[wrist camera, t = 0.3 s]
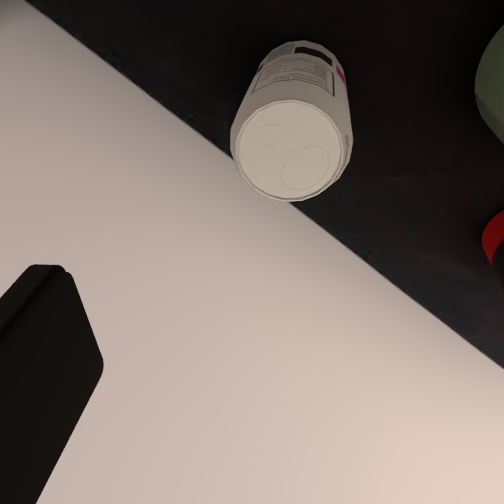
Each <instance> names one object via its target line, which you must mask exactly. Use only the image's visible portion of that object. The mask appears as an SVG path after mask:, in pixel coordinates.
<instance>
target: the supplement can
mask: <svg viewBox="0 0 504 504" xmlns="http://www.w3.org/2000/svg"><path fill="white" fill-rule="evenodd" d="M352 144H353V136H352V128H351V120H350V112H349V104H348V96H347V88H346V82H345V77H344V72H343V68H342V67H341V65H340V64H339V62H338V60H337V59H336V57H335V55H334V54H332V53H331V52H330V51H328V50H327V49H326V48H324V47H323V46H322V45H320V44H316V43H312V42H309V41H305V40H303V41H294V42H287V43H285V44H283V45H281V46H279V47H277V48H275V49H273V50H272V51H271V52H270V53H269V54H268V55H267V57H266V58H265V59H264V60H263V61H262V62H261V64H260V66H259V68H258V70H257V72H256V74H255V76H254V78H253V81H252V83H251V85H250V87H249V89H248V91H247V93H246V95H245V97H244V99H243V102H242V104H241V106H240V108H239V110H238V112H237V115H236V117H235V120H234V122H233V125H232V127H231V140H230V150H231V153H232V156H233V158H234V161H235V164H236V166H237V169H238V170H239V171H240V172H241V174H242V176H244V178H245V179H246V180H247V182H248V183H249V184H250V185H251V187H252V188H254V189H255V190H257V191H258V192H260V193H261V194H263V195H264V196H266V197H269V198H272V199H276V200H280V201H284V202H286V201H302V200H305V199H308V198H310V197H313V196H316V195H318V194H319V193H321V192H322V191H324V190H325V189H326V188H327V187H329V186H330V185H331V184H332V183H334V182H335V181H336V180H337V179H338V178H339V177H340V175H341V174H342V172H343V170H344V169H345V167H346V166H347V164H348V162H349V160H350V154H351V149H352Z"/></svg>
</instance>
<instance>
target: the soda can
mask: <svg viewBox="0 0 504 504" xmlns="http://www.w3.org/2000/svg"><path fill="white" fill-rule="evenodd" d="M482 245H483V249H484V251H485V253H486V255H487V257H488V259H489V261H490V263H491V265H492V268H493V270H494V272H495V274H496V276H497V278H498V280H499V282H500V284H501V286H502V288H503V290H504V210H503V211H501V212H500V213H498V214H497V215H496V216H494V217H493V218H492V219H491V220H490V222H489V223H488V224H487V226H486V227H485V230H484V232H483V235H482Z"/></svg>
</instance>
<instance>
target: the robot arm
mask: <svg viewBox="0 0 504 504" xmlns="http://www.w3.org/2000/svg"><path fill="white" fill-rule="evenodd" d="M103 366H104V365H103V358H102V356H101V352H100V350H99V347H98V345H97V342H96V339H95V336H94V333H93V331H92V328H91V326H90V323H89V320H88V317H87V314H86V312H85V309H84V306H83V304H82V301H81V298H80V295H79V293H78V290H77V287H76V285H75V282H74V279H73V277H72V275H71V274H70V273H69V272H66V271H65V269H64V268H63V267H62V266H60V265H37V264H35V265H31V266H29V267H28V268H27V269H26V270H25V271H24V272H23V273H22V275H21V276H20V277H19V278H18V279H17V280H16V281H15V282H14V283H13V284H12V286H11V287H10V288H9V289H8V290H7V291H6V292H5V293H4V294H3V296H2V297H1V298H0V504H36V502H37V500H38V498H39V497H40V495H41V493H42V491H43V489H44V487H45V485H46V483H47V481H48V479H49V477H50V475H51V473H52V471H53V469H54V467H55V465H56V463H57V461H58V459H59V458H60V456H61V454H62V452H63V450H64V448H65V446H66V444H67V442H68V440H69V438H70V436H71V434H72V432H73V430H74V428H75V426H76V424H77V422H78V421H79V418H80V416H81V415H82V413H83V411H84V409H85V407H86V405H87V403H88V401H89V399H90V397H91V395H92V393H93V391H94V389H95V387H96V385H97V383H98V381H99V379H100V378H101V375H102V372H103Z"/></svg>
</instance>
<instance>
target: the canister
mask: <svg viewBox="0 0 504 504" xmlns="http://www.w3.org/2000/svg"><path fill="white" fill-rule="evenodd" d="M475 97H476V102H477V105H478V108H479V111H480V114H481V117H482V118H483V119H484V121H485V122H486V123H487V124H488V126H489V127H490V128H491V129H492V131H493V132H494V133H495V134H496V136H497V137H498V138H499V139H500V141H501V142H502V143H503V144H504V25H503V26H502V27H501V28H500V29H499V30H498V32H497V33H496V34H495V35H494V37H493V38H492V40H491V41H490V43H489V44H488V46H487V47H486V49H485V51H484V53H483V55H482V57H481V60H480V63H479V65H478V69H477V73H476V79H475Z"/></svg>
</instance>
